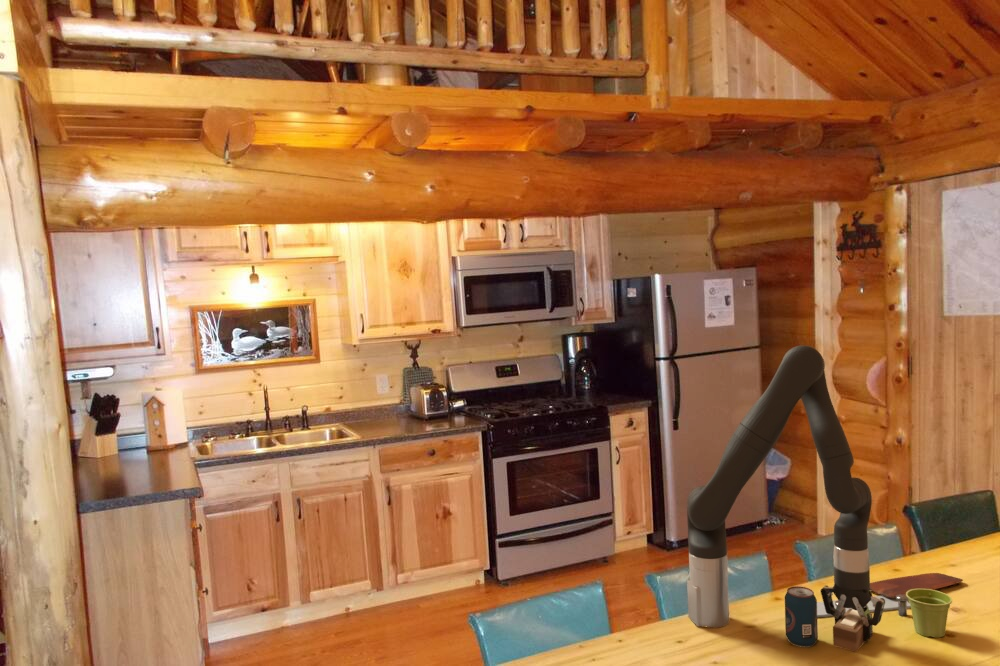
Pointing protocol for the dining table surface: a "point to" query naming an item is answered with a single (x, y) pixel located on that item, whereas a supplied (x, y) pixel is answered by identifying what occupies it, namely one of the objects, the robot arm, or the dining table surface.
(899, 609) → the metal bolt
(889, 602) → the wall strip
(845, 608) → the metal screw
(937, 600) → the plant pot
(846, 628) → the wooden box
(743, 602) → the dining table surface
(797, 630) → the soda can
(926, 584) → the brown flat slab
